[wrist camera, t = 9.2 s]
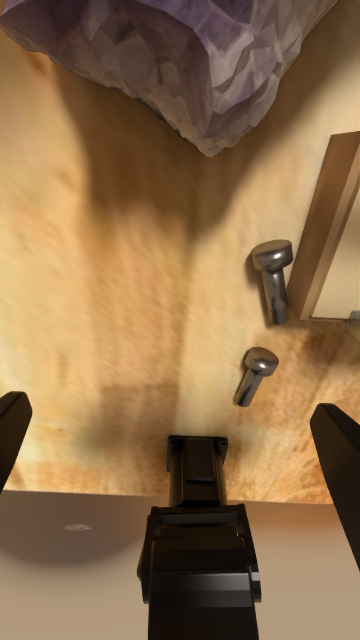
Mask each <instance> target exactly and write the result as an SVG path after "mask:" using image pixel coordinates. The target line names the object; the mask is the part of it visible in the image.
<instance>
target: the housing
mask: <svg viewBox="0 0 360 640" xmlns="http://www.w3.org/2000/svg"><path fill="white" fill-rule="evenodd" d="M345 327H346V328H347V329H348V331H349V332H350V333H351V334H352V335H353V336H354V337H355V338H356V339H357V340H358V341H359V342H360V311H356V310H352V312H351V314H350V316H349V318H348V321H347V323H346V325H345Z"/></svg>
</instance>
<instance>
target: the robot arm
mask: <svg viewBox="0 0 360 640" xmlns="http://www.w3.org/2000/svg"><path fill="white" fill-rule="evenodd" d="M31 417H32V407H31V405H30V402H29V399H28V397H27V394H26V393H25V392H21V391H11V392H9V393H7V394H5V395H4V396H2V397H1V398H0V494H1V492H2V490H3V488H4V486H5V483H6V481H7V479H8V477H9V475H10V473H11V471H12V469H13V466H14V464H15V461H16V459H17V456H18V453H19V450H20V448H21V445H22V442H23V439H24V437H25V434H26V431H27V428H28V426H29V423H30V420H31ZM310 428H311V432H312V435H313V439H314V443H315V446H316V450H317V454H318V457H319V461H320V465H321V469H322V472H323V475H324V478H325V481H326V484H327V487H328V489H329V492H330V495H331V497H332V500H333V502H334V505H335V508H336V510H337V513H338V516H339V518H340V521H341V523H342V526H343V529H344V531H345V534H346V537H347V539H348V542H349V544H350V547H351V550H352V552H353V555H354V558H355V560H356V563H357V565H358V568H359V571H360V425H359V424H358V423H357V422H355V421H354V420H353V419H352V418H351V417H349V416H348V415H347V414H346V413H344V412H343V411H342V410H341V409H339V408H338V407H337V406H336V405H334V404H331V403H319V404H318V405H317V407H316V409H315V411H314V413H313V415H312V417H311V419H310ZM227 448H228V439H227V438H220V437H193V436H169V437H168V447H167V472H170V488H169V507H157V506H154V507H152V508H151V514H150V515H148V516H147V526H146V534H145V541H144V544H143V548H142V552H141V556H140V560H139V564H138V568H137V576H138V578H139V580H140V581H141V586H142V596H143V602H144V604H149V617H148V640H259V635H258V627H257V621H256V612H255V605H254V603H256V602H257V603H258V602H261V586H260V577H259V570H258V564H257V559H256V554H255V549H254V544H253V541H252V536H251V531H250V527H249V523H248V518H247V514H246V510H245V505H244V503H243V504H238V505H228V502H227V494H226V486H225V479H224V471H223V464H224V460H225V456H226V452H227ZM237 533H238V536H237Z"/></svg>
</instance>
